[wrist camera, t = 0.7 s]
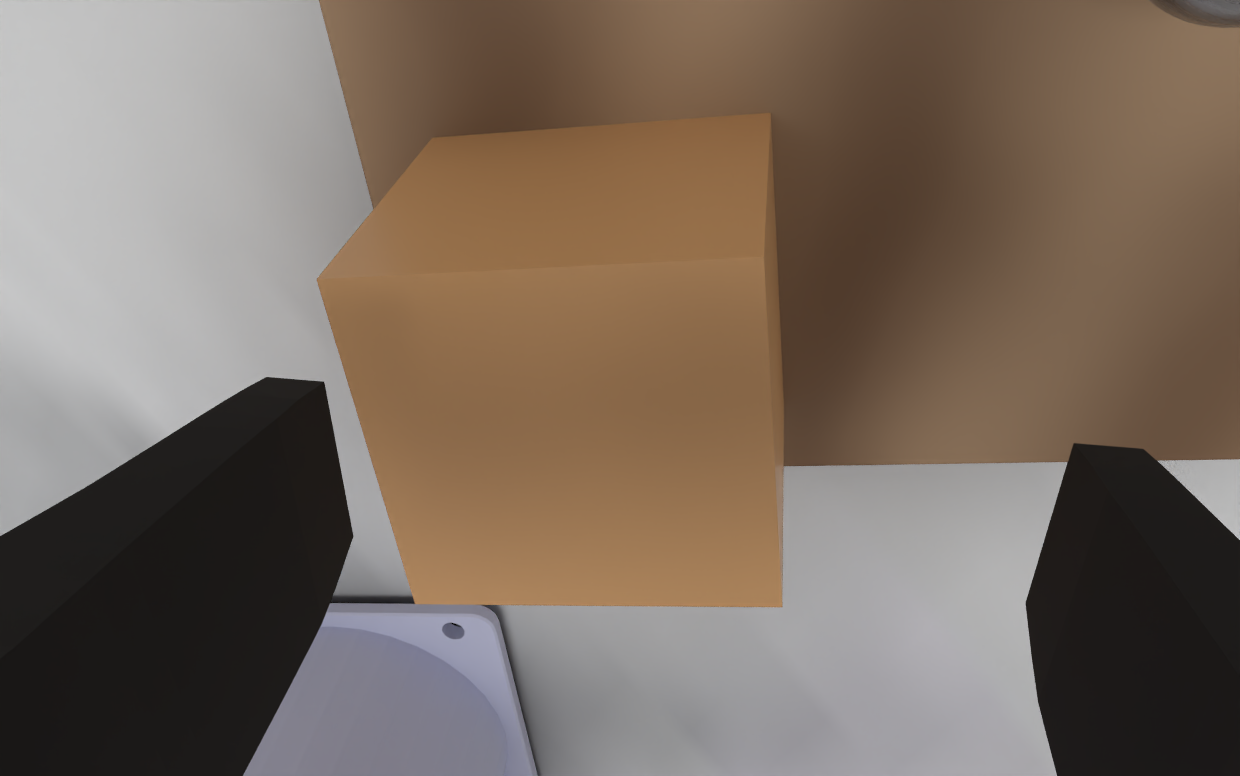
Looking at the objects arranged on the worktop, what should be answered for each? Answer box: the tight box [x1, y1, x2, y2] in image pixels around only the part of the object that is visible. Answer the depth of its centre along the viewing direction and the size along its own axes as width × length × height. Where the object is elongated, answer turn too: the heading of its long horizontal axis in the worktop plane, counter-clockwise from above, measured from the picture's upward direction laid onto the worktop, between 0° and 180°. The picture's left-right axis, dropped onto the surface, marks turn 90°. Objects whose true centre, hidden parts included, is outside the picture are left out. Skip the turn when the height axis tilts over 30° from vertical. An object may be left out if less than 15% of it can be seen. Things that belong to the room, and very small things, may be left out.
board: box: [319, 0, 1240, 466], centre depth 16 cm, size 16×14×1 cm
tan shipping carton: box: [317, 113, 784, 607], centre depth 16 cm, size 5×5×5 cm
